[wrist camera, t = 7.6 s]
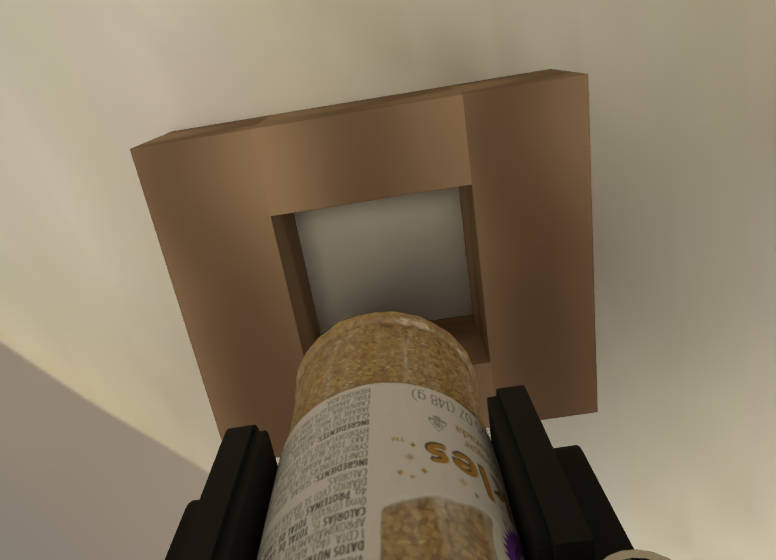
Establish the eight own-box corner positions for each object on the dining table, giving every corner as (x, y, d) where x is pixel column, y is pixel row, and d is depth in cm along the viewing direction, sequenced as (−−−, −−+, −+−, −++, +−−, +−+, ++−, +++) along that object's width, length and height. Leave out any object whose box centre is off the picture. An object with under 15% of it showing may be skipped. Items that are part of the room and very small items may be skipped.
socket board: (550, 69, 21) (588, 74, 17) (565, 358, 26) (597, 411, 22) (172, 131, 22) (129, 148, 18) (250, 404, 26) (229, 463, 22)
